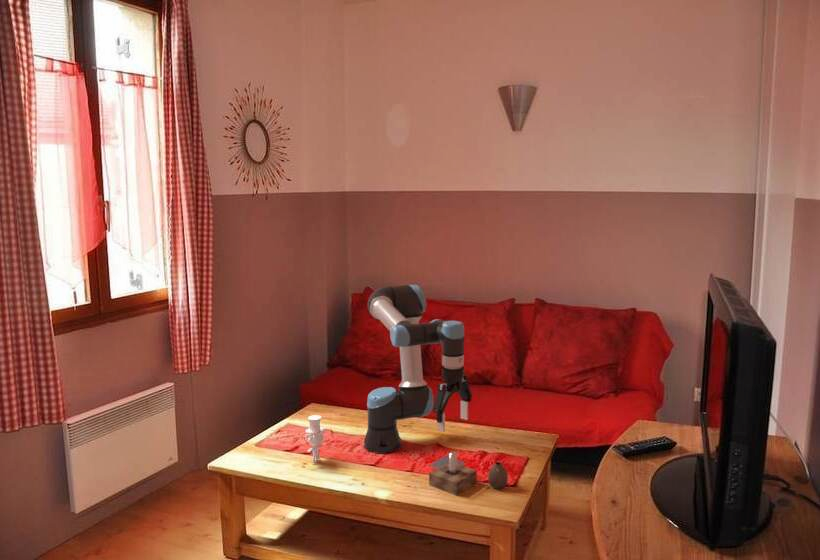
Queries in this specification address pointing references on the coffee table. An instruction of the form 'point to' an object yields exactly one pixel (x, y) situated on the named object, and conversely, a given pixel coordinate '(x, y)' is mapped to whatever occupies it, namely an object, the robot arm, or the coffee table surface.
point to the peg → (453, 463)
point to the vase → (498, 476)
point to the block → (453, 479)
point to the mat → (444, 462)
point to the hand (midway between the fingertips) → (452, 424)
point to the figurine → (315, 435)
